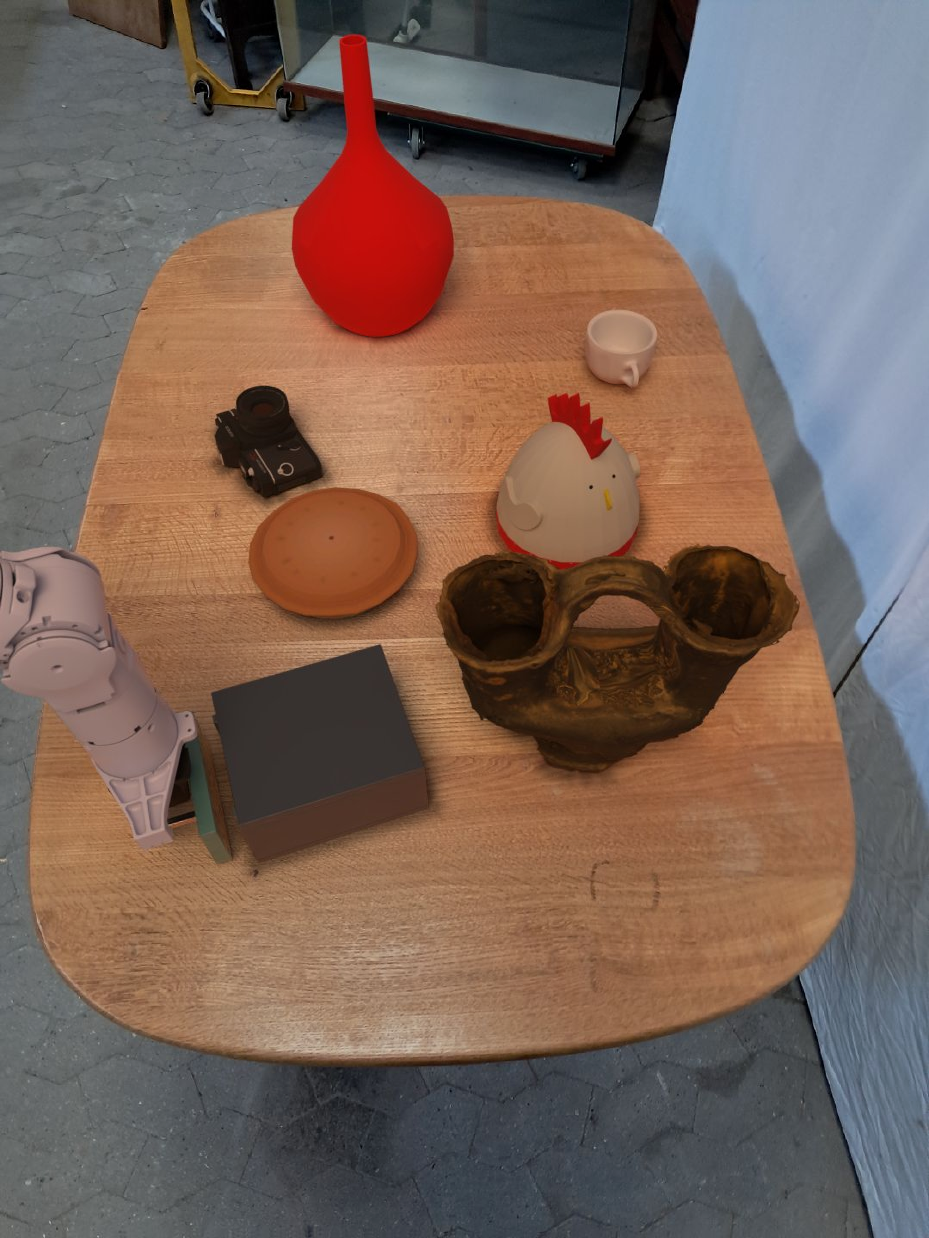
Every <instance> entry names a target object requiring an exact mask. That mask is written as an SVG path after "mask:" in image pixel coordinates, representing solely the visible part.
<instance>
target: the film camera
mask: <svg viewBox="0 0 929 1238" xmlns="http://www.w3.org/2000/svg"><path fill="white" fill-rule="evenodd" d="M289 404H290V403H289V399H288V396H287V394H286V393H285V391H283V390H281V389H280V388H278V387H275V386H272V385H263V384H262V385H255V386H252V387H249V388H246V389H245V390H243V391H242V392H241V393H239V394H238V395H237V397H236V400H235V404H234V408H231V409H228V410H224V411H222V412H218V413H216V414H215V415H216V418H215V419H214V423H215V426H216V431H215V433H214V440H215V446H216V453H217V456H218V459H219V460H220V461H221V464H222V466H225V467H226V468H227V467H229V468H239V470H240V471H241V476H242V479H243V480H244V482H245V483H246V485H247V486H248V487H250V488H251V489H252V490H253V491H254V493H257V492H259V495H261V496H262V497H263V498H267V497H269V496H273V495H274V496H277V495H278V494H279V493H281V492H283V491H286V490H289V489H291V488H294V487H297V486H300V485H303V484H306V483H307V484H310V483H311V482H312V481H314V480H317V479H320V478H322V477H323V471H322V469H323V468H322V463H321V461H320V459H319V457H318V455H317V454H316V452H315V451H314V450H313V448H312V447H311V445H310V444H309V443H308V441H307V440H306V438H305V437H304V436H303V434H302V433H301V432H300V430H299V429H298V427H297V425H296V422H295V420H294V418H293V417H292V415H291V414H290V405H289Z"/></svg>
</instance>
